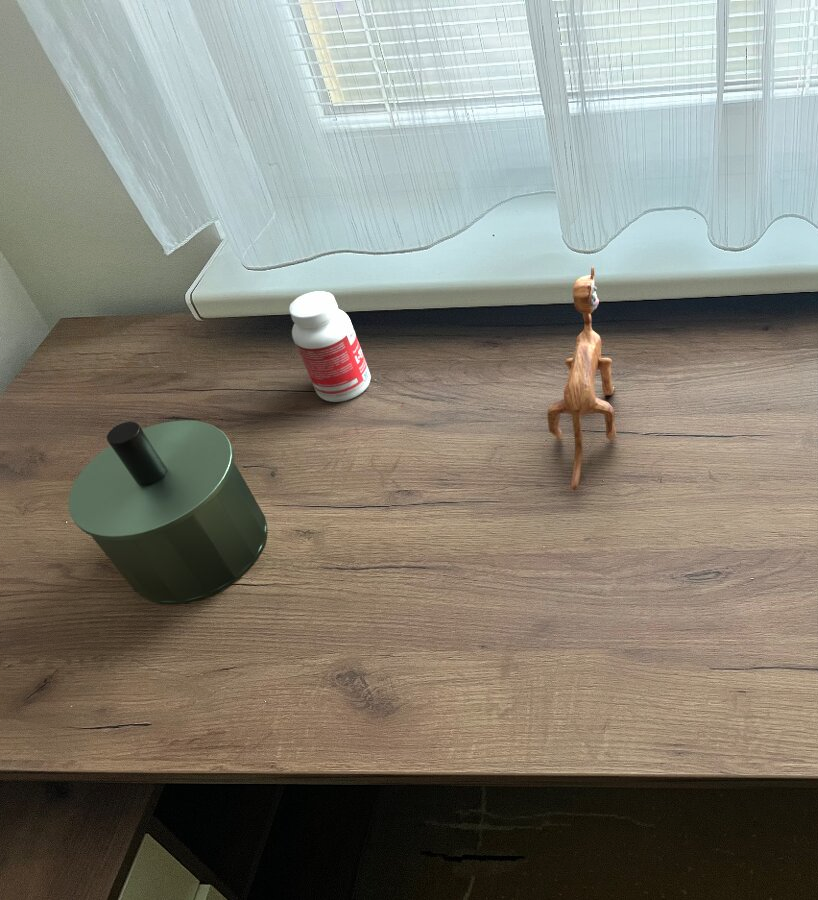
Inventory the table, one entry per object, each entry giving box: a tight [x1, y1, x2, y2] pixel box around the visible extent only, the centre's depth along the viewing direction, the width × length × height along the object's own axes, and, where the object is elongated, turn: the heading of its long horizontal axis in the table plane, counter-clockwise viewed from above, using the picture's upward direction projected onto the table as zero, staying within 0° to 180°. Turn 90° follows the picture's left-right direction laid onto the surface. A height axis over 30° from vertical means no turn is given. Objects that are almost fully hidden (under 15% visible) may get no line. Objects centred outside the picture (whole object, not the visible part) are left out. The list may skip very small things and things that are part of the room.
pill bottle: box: [288, 290, 371, 403], centre depth 93 cm, size 6×6×11 cm
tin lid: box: [67, 419, 235, 540], centre depth 73 cm, size 14×14×6 cm
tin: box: [91, 461, 268, 606], centre depth 78 cm, size 13×13×10 cm
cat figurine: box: [546, 266, 617, 491], centre depth 83 cm, size 18×7×14 cm, turn 173°
